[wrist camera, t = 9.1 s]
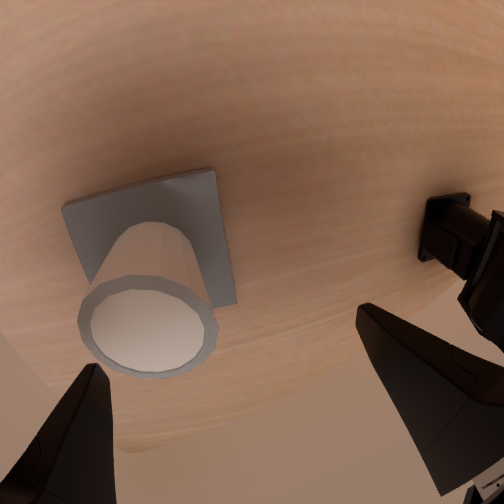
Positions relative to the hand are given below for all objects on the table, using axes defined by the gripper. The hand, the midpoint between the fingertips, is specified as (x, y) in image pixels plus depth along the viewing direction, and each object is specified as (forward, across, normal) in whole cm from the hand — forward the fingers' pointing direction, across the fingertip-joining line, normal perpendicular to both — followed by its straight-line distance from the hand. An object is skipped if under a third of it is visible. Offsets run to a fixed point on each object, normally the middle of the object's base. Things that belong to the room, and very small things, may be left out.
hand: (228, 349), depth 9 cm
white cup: (+11, +4, +2) cm, 12 cm away
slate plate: (+12, +4, +2) cm, 12 cm away
